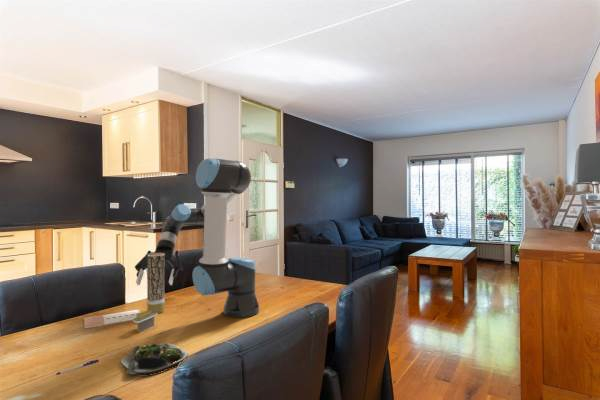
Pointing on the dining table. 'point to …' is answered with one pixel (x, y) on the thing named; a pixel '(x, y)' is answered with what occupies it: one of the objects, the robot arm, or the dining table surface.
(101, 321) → the ticket board
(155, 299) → the bark-patterned cylinder
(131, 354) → the salad plate
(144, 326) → the platform
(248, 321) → the dining table surface
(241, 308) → the robot arm
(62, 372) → the ballpoint pen
